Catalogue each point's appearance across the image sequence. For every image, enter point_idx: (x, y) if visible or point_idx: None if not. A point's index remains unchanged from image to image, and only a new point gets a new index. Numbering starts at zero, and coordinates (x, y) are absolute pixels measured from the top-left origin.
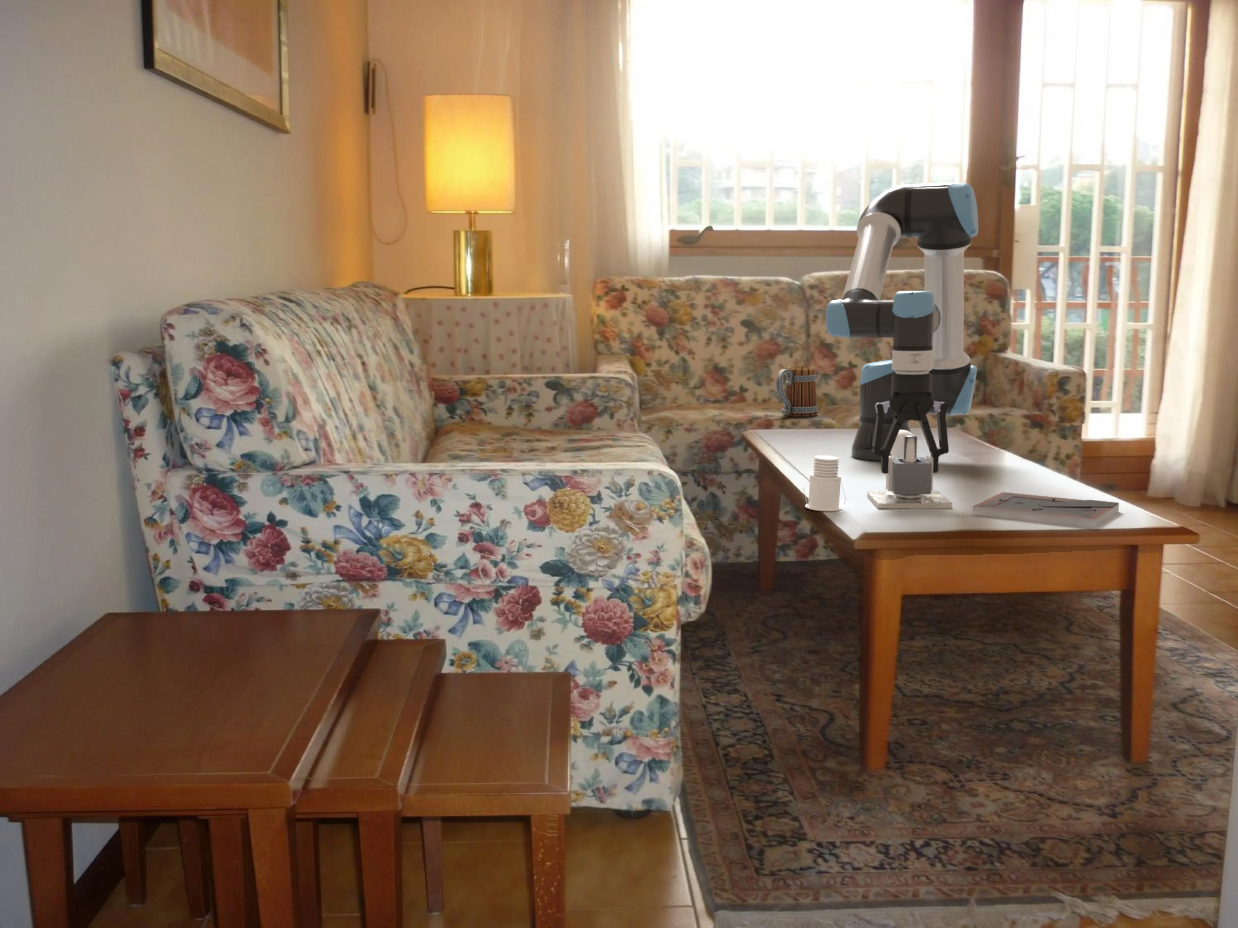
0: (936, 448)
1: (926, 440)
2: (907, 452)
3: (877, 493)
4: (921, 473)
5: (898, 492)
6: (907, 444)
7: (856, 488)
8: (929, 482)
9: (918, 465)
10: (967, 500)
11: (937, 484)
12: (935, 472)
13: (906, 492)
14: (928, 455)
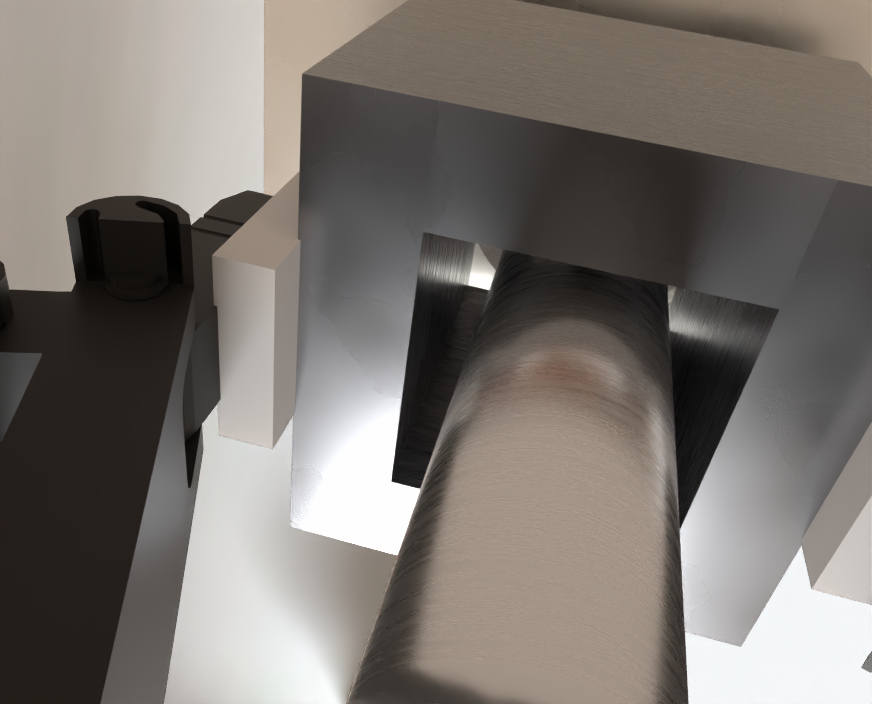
0: (71, 333)
1: (167, 604)
2: (641, 434)
3: None
4: (504, 66)
5: (812, 56)
6: (647, 556)
7: (727, 670)
8: (417, 14)
9: (541, 107)
10: (94, 117)
11: (203, 594)
12: (264, 199)
13: (711, 41)
14: (244, 437)
